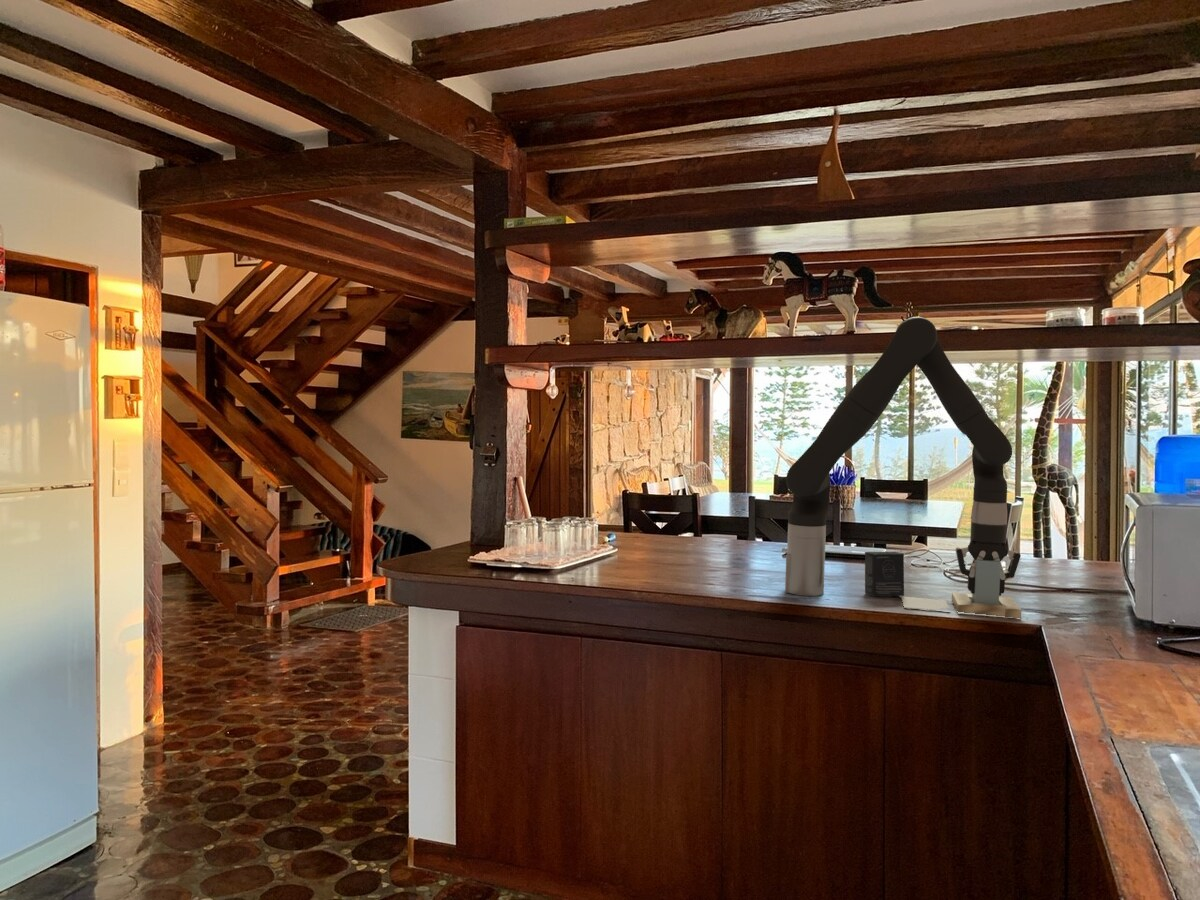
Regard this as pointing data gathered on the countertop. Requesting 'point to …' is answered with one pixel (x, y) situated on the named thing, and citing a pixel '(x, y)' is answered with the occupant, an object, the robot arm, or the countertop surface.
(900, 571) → the box
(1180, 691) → the countertop surface
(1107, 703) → the countertop surface
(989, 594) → the block
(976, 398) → the robot arm
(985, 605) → the pocket board
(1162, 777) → the countertop surface
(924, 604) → the mat
